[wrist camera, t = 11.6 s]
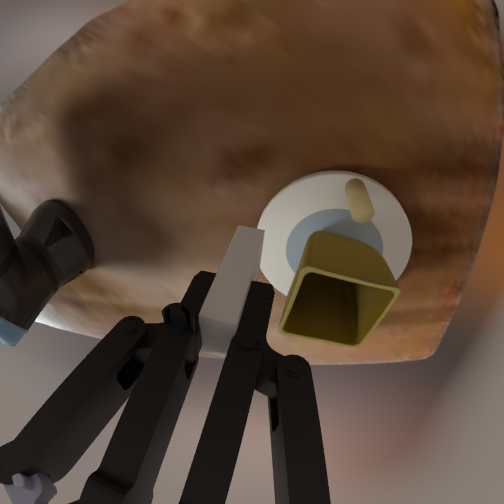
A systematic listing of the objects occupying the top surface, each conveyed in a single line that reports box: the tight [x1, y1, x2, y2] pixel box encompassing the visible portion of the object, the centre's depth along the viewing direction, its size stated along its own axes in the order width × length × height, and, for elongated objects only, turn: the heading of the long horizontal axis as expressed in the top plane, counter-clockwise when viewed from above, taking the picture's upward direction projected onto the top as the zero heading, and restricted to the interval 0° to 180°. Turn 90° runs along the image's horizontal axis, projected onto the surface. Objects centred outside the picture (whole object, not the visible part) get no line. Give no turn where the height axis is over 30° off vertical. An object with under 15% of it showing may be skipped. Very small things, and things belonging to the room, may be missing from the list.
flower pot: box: [278, 231, 401, 348], centre depth 26 cm, size 9×9×9 cm
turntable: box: [257, 170, 412, 296], centre depth 29 cm, size 18×18×7 cm
